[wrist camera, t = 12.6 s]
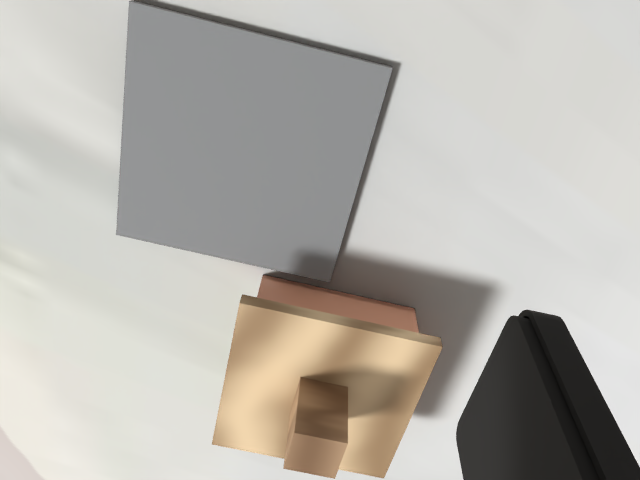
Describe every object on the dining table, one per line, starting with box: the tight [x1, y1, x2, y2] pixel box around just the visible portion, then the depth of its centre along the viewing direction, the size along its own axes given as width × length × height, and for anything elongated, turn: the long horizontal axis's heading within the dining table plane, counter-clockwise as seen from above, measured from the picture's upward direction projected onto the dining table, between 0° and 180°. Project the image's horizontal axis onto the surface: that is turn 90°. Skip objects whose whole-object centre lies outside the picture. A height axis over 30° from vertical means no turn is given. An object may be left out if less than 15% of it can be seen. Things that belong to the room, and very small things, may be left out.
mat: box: [116, 0, 393, 282], centre depth 36 cm, size 16×16×1 cm
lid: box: [212, 294, 442, 479], centre depth 37 cm, size 14×14×6 cm
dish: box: [257, 275, 419, 333], centre depth 42 cm, size 12×12×4 cm
